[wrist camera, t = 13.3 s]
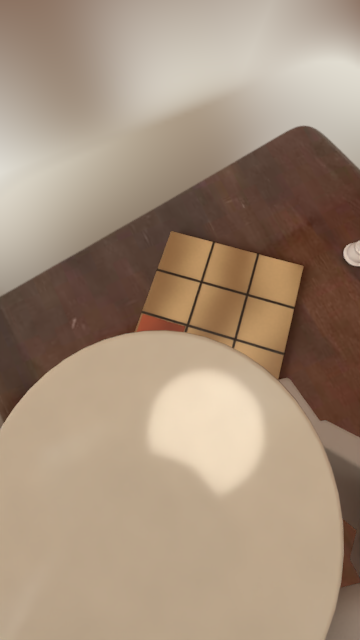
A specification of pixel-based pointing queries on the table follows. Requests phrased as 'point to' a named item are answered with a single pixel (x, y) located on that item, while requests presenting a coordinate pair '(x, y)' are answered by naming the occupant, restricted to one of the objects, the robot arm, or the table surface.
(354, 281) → the table surface
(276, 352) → the board
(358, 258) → the chess pawn
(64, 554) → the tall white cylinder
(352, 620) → the robot arm
